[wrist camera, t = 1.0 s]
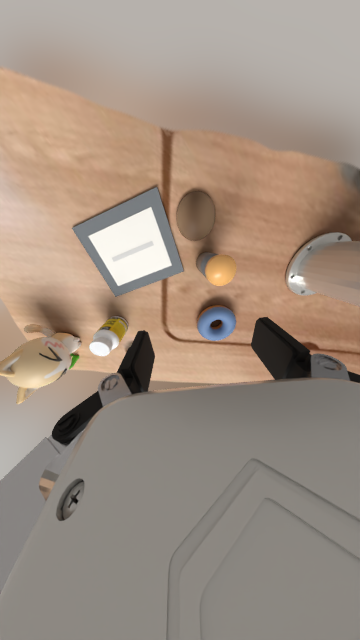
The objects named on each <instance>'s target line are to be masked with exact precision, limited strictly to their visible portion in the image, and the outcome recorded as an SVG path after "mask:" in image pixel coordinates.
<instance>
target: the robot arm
mask: <svg viewBox="0 0 360 640" xmlns="http://www.w3.org/2000/svg"><path fill="white" fill-rule="evenodd" d="M286 284H287V287H288V288H289V289H290V290H291V291H292V292H294V293H296V294H299V295H312V294H315V293H319V294H322V295H325V296H328V297H331V298H335V299H338V300H341V301H344V302H347V303H350V304H353V305H356V306H359V307H360V241H352V240H351V238H350V237H349V236H348V235H346V234H344V233H340V232H335V233H326V234H323V235H320V236H317V237H316V238H314V239H312V240H310V241H309V242H308V243H306V244H305V245H304V246H303V247H302V248H301V249H300V250H299V251H298V252H297V253H296V254H295V256H294V257H293V259H292V260H291V262H290V264H289V266H288V269H287V272H286ZM251 346H252V349H253V350H254V351H255V353H256V354H257V355H258V357H259V358H260V360H261V361H262V362H263V364H264V365H265V366H266V368H267V369H268V371H269V372H270V373H271V375H272V376H273V377H274V379H275V380H266V381H254V382H242V383H230V384H219V385H207V386H197V387H187V388H175V389H165V390H157V391H148V387H149V382H150V378H151V373H152V368H153V363H154V358H155V355H154V351H153V348H152V344H151V341H150V338H149V334H148V332H146V331H145V330H144V331H138V332H137V335H136V337H135V339H134V341H133V343H132V345H131V347H129V349H128V351H127V353H126V355H125V357H124V359H123V361H122V363H121V365H120V367H119V369H118V371H117V373H112V374H110V375H108V376H106V377H105V378H104V379H103V380H102V381H101V382H100V384H99V386H98V391H97V392H96V393H94V394H93V395H92V396H90V397H89V398H87V399H86V400H85V401H83V402H82V403H81V404H79V405H78V406H76V407H75V408H73V409H72V410H71V411H69V412H68V413H67V414H65V415H64V416H63V417H62V418H61V419H60V420H59V421H58V422H57V423H56V425H55V427H54V429H53V431H52V435H51V436H50V437H49V438H46V437H45V438H44V439H43V440H42V441H41V442H40V443H39V444H38V445H37V446H36V447H35V448H34V449H33V450H32V451H31V452H30V453H29V454H28V455H27V456H26V457H25V458H24V459H23V460H21V461H20V463H18V464H17V465H16V466H15V467H14V468H13V469H12V470H11V471H10V472H9V473H8V474H7V475H6V476H5V477H4V478H3V479H2V480H1V481H0V640H360V375H358V374H355V373H352V372H349V371H347V368H346V366H345V365H344V364H343V363H342V362H340V361H339V360H337V359H335V358H333V357H331V356H328V355H324V354H313V355H311V354H309V353H310V350H308V349H307V348H306V347H305V346H303V345H302V344H301V343H300V342H298V341H297V340H296V339H294V338H293V337H292V336H291V335H289V334H288V333H287V332H286V331H284V330H283V329H282V328H280V327H279V326H278V325H277V324H275V323H274V322H273V321H272V320H270V319H269V318H268V317H263V318H259V319H258V320H257V321H256V324H255V329H254V334H253V338H252V343H251Z"/></svg>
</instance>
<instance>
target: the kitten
mask: <svg viewBox="0 0 360 640" xmlns="http://www.w3.org/2000/svg"><path fill="white" fill-rule="evenodd" d="M24 331H25V332H27V333H33V332H41V333H43V334H44V335H46V336H48V337H41V338H37V339H34V340H31V341H29V342H26V343H24V344H23V345H21V346H20V347H18V348H17V349H16V350H15V351H14V352H13V353H12V354H11V355H10V356H8V357H7V358H6V359H4V360H3V361H1V362H0V375H1V376H6V377H7V379H8V380H9V381H10V382H11V383H13V384H14V385H16V386H19V389H18V394H17V402H16V403H17V404H20V403H22V402H23V401H24V400H26V399H27V398H28V397H29V396H30V395H31V394H33V393H34V392H35V391H36V390H37V389H38V388H40V387H42V386H45V385H48V384H50V383H52V382H54V381H56V380H58V379H59V378H60V377H61V376H62V375H64V374H65V373H66V371H67V370H68V369H70V368H72V367H73V366H74V364H75V363H76V361H77V360H78V358H79V356H77V355H73V354H72V353H73V352H75V351H76V350H77V349H78V348H79V347H80V346H81V342H78V341H79V340H80V338H79V337H74V336H73V335H71V334H68V333H56V334H55V333H54V332H53V331H52V330H50V329H48V328H45V327H42V326H39V325H35V324H31V325H27V326H26V327H25V328H24ZM71 356H73V358H72V359H71Z"/></svg>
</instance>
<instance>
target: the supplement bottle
mask: <svg viewBox="0 0 360 640" xmlns="http://www.w3.org/2000/svg"><path fill="white" fill-rule="evenodd" d="M127 329H128V323H127V322H126V320H125V319H123V318H122V317H119V316H113V317H111V318H109V319H108V320H107V321H106V322H105V324H104V325H103V326H102V327H101V328H100V329H99V330H98V331H97V332H96V333H95V334H94V337H93V341H92V343H91V344H90V346H89V348H90V350H91V352H92V353H94V354H95V355H98V356H106V355H108V354H109V353H110V351H111V350H112V349H115V348H116V347H117V346H118V345H119V343H120V341H121V340H122V338H123V336H124V335H125V333H126V331H127Z"/></svg>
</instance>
